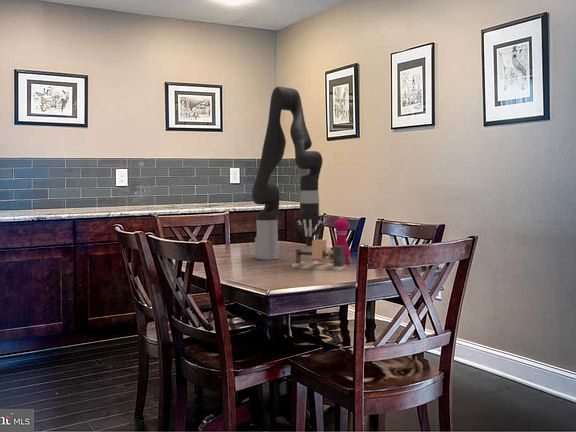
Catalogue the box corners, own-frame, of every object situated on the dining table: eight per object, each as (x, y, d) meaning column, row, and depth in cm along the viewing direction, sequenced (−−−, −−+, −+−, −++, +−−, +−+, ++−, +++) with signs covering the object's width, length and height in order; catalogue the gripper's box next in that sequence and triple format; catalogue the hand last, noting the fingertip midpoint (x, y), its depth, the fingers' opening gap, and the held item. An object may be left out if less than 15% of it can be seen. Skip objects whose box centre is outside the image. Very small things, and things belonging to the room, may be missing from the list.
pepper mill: (349, 264, 230) (349, 215, 229) (331, 264, 232) (331, 215, 230) (351, 262, 237) (350, 214, 236) (333, 261, 239) (333, 214, 237)
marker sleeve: (312, 260, 221) (311, 240, 221) (317, 258, 225) (317, 239, 225) (321, 261, 219) (321, 241, 219) (326, 259, 223) (326, 239, 223)
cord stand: (292, 267, 224) (292, 245, 223) (300, 265, 230) (300, 243, 230) (339, 271, 215) (339, 247, 214) (346, 268, 221) (346, 245, 220)
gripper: (290, 202, 222) (290, 246, 223) (320, 202, 216) (321, 247, 217) (298, 201, 229) (299, 244, 230) (328, 201, 223) (329, 245, 224)
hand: (309, 245), depth 224 cm, fingers closed
